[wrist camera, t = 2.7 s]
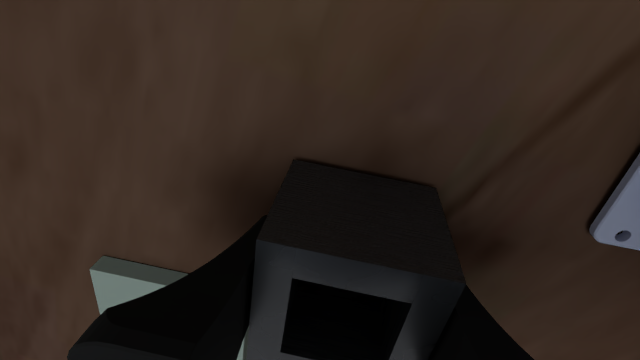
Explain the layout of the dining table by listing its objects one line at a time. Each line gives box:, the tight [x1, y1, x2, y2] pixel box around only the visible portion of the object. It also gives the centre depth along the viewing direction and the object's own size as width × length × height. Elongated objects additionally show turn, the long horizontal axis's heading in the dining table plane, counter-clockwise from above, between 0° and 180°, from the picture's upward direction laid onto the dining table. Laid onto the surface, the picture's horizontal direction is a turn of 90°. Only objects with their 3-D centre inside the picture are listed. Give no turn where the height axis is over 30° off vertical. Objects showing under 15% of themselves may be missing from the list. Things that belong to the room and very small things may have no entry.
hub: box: [246, 160, 466, 360], centre depth 13 cm, size 6×6×5 cm
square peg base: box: [90, 256, 249, 360], centre depth 18 cm, size 8×8×4 cm
